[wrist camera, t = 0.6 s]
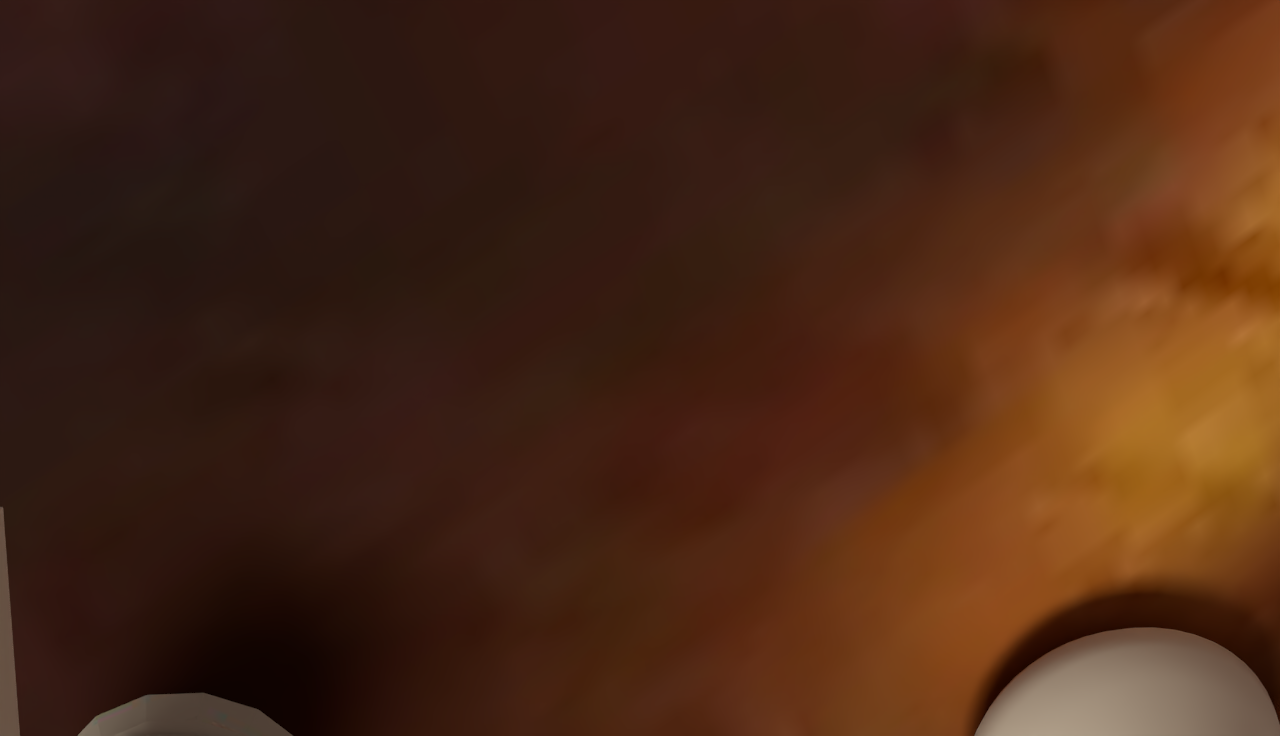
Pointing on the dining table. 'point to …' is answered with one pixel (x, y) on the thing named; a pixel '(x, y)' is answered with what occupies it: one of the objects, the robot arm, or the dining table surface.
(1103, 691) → the flower in vase
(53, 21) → the dining table surface
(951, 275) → the dining table surface
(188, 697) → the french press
